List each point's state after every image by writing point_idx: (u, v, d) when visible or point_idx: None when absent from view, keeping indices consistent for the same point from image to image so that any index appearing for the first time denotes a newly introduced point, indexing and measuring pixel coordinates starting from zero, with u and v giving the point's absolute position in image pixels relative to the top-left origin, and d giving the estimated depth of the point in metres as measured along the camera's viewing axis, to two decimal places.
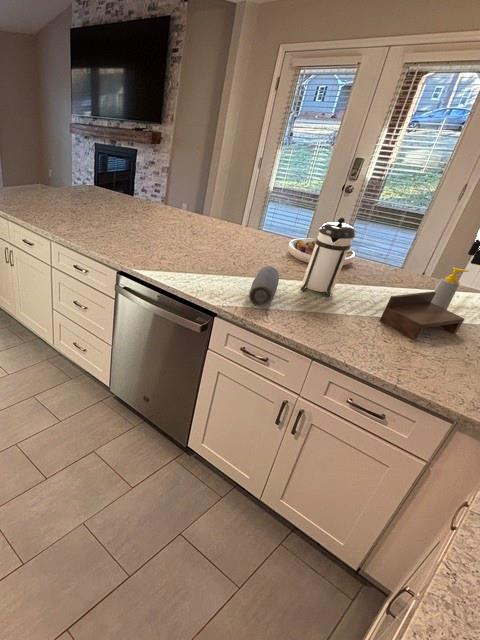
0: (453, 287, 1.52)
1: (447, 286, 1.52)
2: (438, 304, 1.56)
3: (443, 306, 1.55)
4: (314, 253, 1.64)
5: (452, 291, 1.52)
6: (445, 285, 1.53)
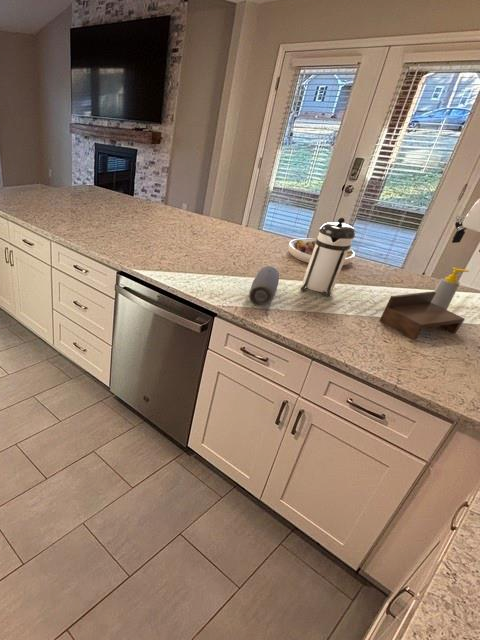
0: (453, 287, 1.52)
1: (447, 286, 1.52)
2: (438, 304, 1.56)
3: (443, 306, 1.55)
4: (314, 253, 1.64)
5: (452, 291, 1.52)
6: (445, 285, 1.53)
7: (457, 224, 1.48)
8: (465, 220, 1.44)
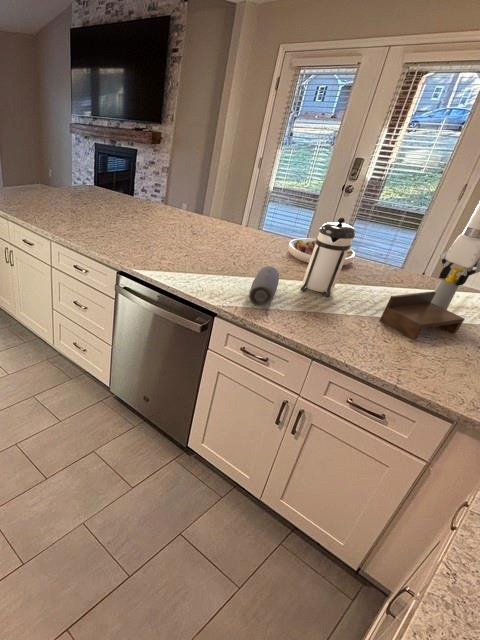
0: (453, 287, 1.51)
1: (447, 286, 1.52)
2: (438, 304, 1.56)
3: (443, 306, 1.55)
4: (314, 253, 1.64)
5: (452, 291, 1.52)
6: (445, 285, 1.53)
7: (443, 261, 1.54)
8: (448, 254, 1.51)
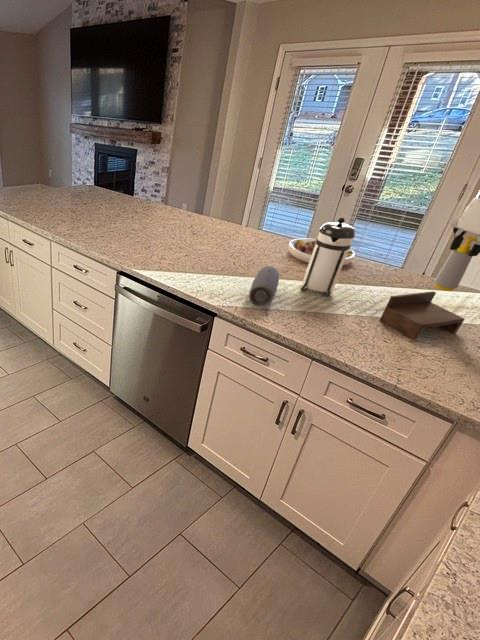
0: (466, 258, 1.35)
1: (459, 258, 1.36)
2: (449, 278, 1.40)
3: (455, 280, 1.39)
4: (314, 253, 1.64)
5: (465, 263, 1.36)
6: (457, 256, 1.36)
7: (455, 230, 1.38)
8: (460, 221, 1.35)
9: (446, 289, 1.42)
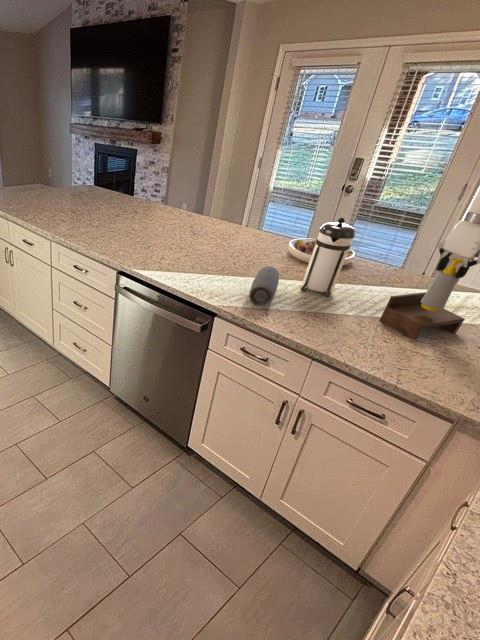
0: (452, 280, 1.35)
1: (445, 279, 1.36)
2: (435, 299, 1.40)
3: (441, 301, 1.39)
4: (314, 253, 1.64)
5: (451, 284, 1.36)
6: (443, 278, 1.36)
7: (441, 251, 1.38)
8: (446, 242, 1.35)
9: (432, 310, 1.42)
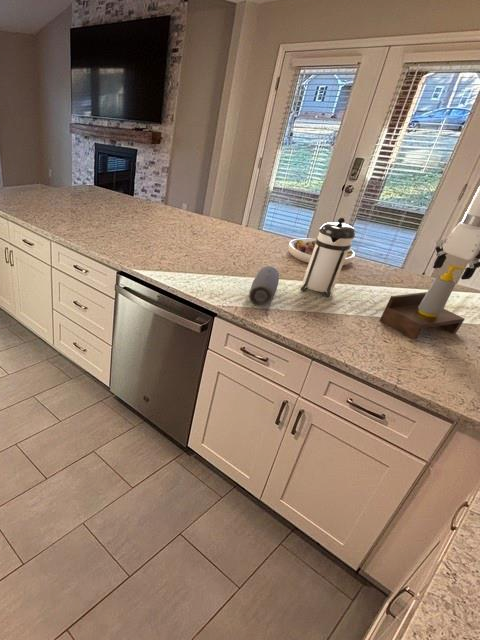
0: (449, 286, 1.36)
1: (442, 285, 1.37)
2: (432, 305, 1.41)
3: (438, 307, 1.40)
4: (314, 253, 1.64)
5: (448, 291, 1.37)
6: (440, 284, 1.37)
7: (438, 249, 1.39)
8: (446, 245, 1.35)
9: (430, 315, 1.43)
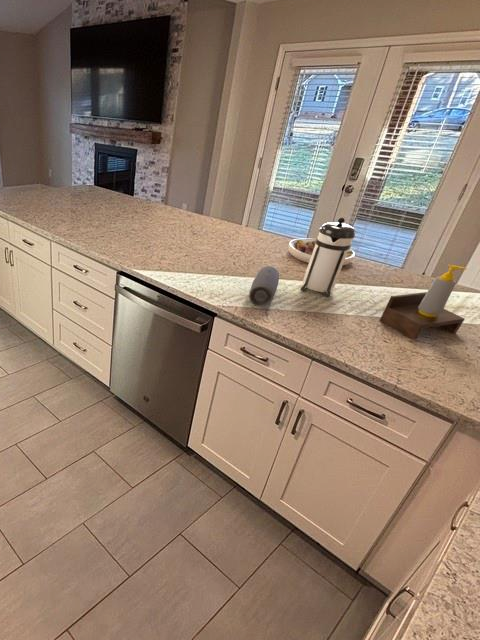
0: (449, 286, 1.36)
1: (442, 285, 1.37)
2: (432, 305, 1.41)
3: (438, 307, 1.40)
4: (314, 253, 1.64)
5: (448, 291, 1.37)
6: (440, 284, 1.37)
7: None
8: None
9: (430, 315, 1.43)
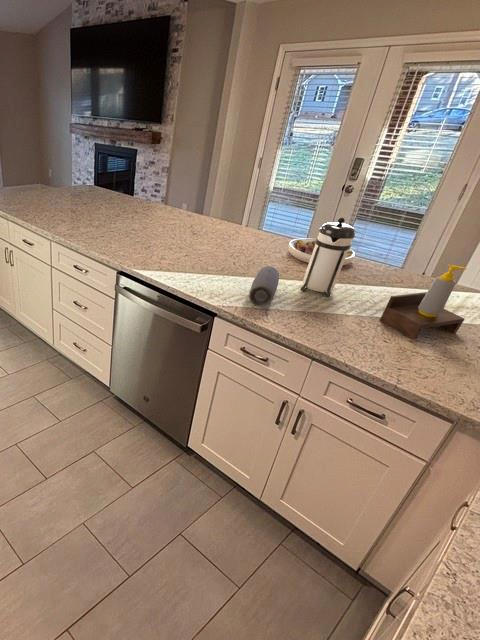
0: (449, 286, 1.36)
1: (442, 285, 1.37)
2: (432, 305, 1.41)
3: (438, 307, 1.40)
4: (314, 253, 1.64)
5: (448, 291, 1.37)
6: (440, 284, 1.37)
7: None
8: None
9: (430, 315, 1.43)
